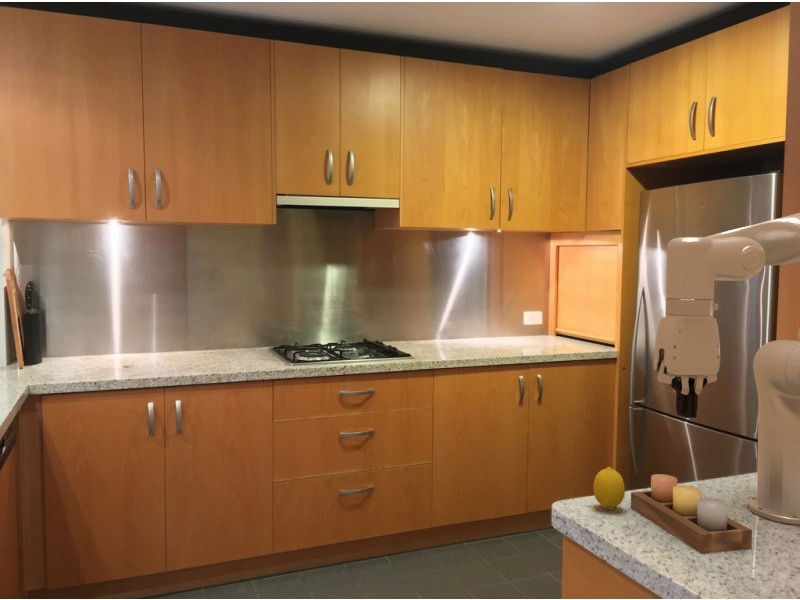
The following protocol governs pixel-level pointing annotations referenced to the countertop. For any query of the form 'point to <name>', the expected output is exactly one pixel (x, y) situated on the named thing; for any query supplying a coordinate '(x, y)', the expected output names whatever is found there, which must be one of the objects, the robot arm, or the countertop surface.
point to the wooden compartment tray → (691, 526)
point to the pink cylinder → (662, 487)
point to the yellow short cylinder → (685, 500)
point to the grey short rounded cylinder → (712, 514)
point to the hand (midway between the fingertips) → (686, 416)
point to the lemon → (609, 488)
